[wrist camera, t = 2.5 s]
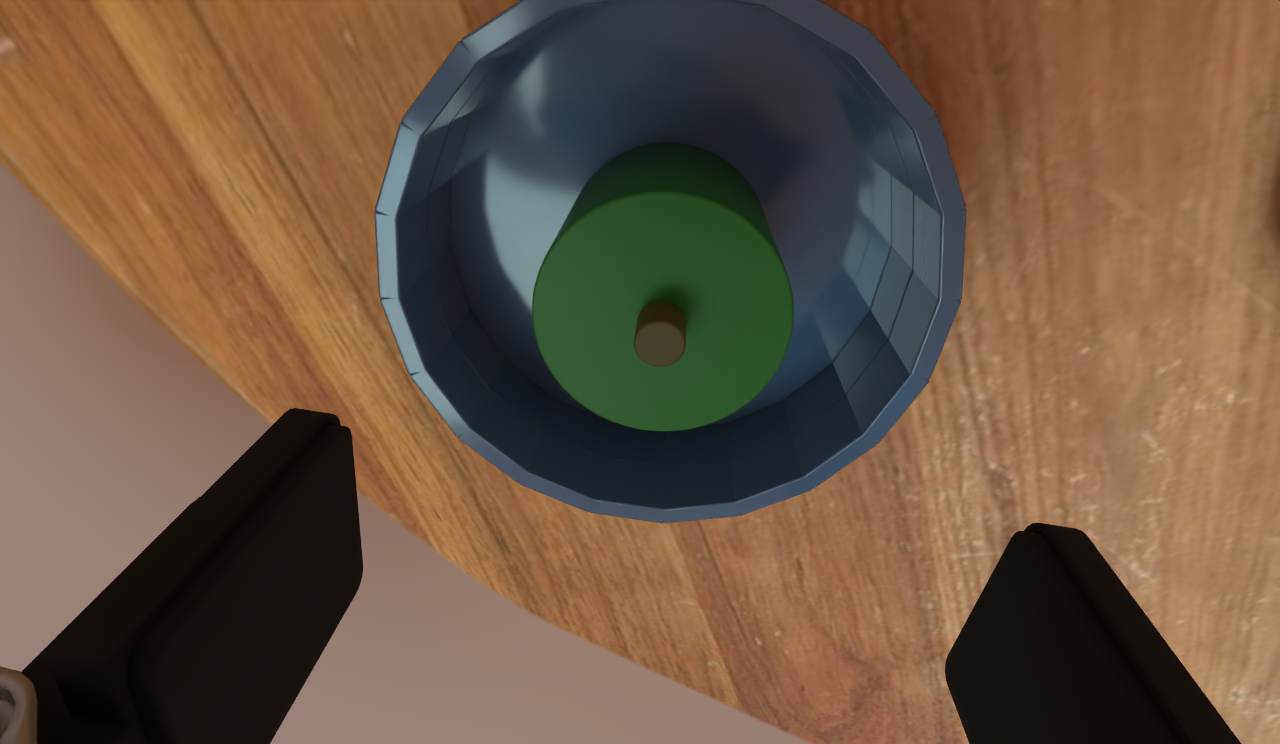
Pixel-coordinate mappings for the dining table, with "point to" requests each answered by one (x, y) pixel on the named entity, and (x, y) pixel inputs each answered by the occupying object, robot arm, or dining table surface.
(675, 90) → the serving bowl
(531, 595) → the dining table surface
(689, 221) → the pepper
